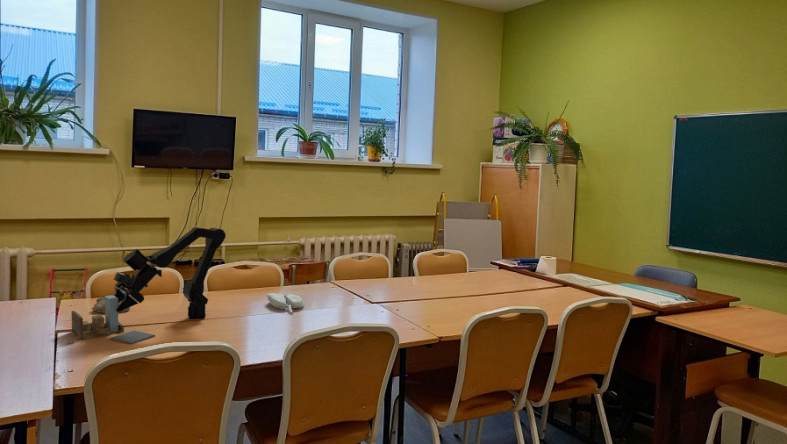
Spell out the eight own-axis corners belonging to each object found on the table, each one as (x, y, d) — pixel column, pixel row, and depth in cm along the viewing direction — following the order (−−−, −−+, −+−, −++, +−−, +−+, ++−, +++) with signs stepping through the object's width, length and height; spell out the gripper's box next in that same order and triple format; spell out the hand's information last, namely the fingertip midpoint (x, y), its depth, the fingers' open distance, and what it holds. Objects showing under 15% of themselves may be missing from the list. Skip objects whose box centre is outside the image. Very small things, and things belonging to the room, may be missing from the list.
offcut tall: (100, 330, 223) (100, 314, 223) (104, 333, 220) (104, 317, 219) (92, 331, 221) (92, 316, 221) (95, 334, 218) (95, 319, 217)
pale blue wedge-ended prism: (113, 327, 227) (113, 295, 226) (118, 331, 222) (118, 298, 221) (105, 329, 225) (104, 296, 224) (110, 332, 220) (109, 299, 219)
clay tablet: (94, 304, 262) (93, 314, 245) (94, 293, 262) (93, 303, 244) (128, 302, 269) (130, 312, 251) (128, 292, 268) (130, 301, 251)
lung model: (301, 300, 283) (311, 318, 260) (265, 302, 278) (272, 321, 254) (301, 287, 282) (311, 304, 259) (265, 289, 276) (272, 306, 253)
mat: (133, 332, 222) (133, 330, 222) (155, 336, 218) (155, 334, 218) (109, 339, 212) (109, 337, 212) (131, 344, 208) (131, 342, 208)
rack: (115, 325, 230) (114, 305, 229) (124, 332, 221) (124, 312, 220) (71, 331, 220) (71, 311, 219) (80, 339, 211) (79, 318, 210)
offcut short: (87, 332, 220) (86, 320, 220) (90, 335, 216) (90, 323, 216) (78, 333, 218) (78, 321, 218) (81, 336, 214) (81, 325, 214)
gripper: (120, 261, 232) (90, 291, 226) (135, 268, 218) (104, 301, 212) (140, 278, 238) (111, 308, 232) (156, 287, 224) (126, 319, 218)
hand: (113, 308), depth 223 cm, fingers open, 9 cm apart
